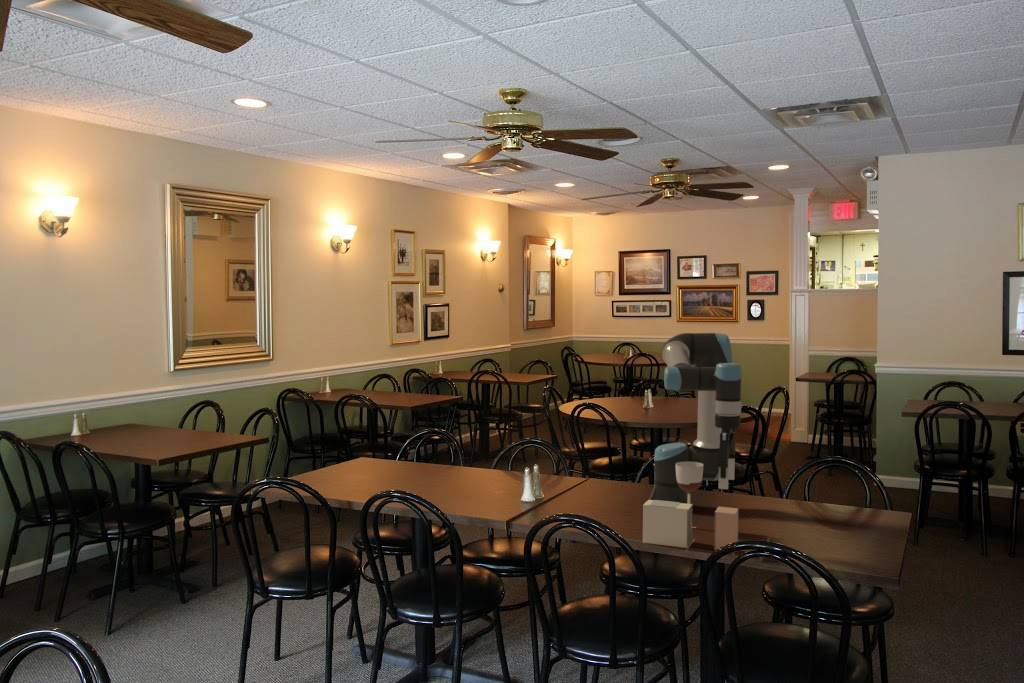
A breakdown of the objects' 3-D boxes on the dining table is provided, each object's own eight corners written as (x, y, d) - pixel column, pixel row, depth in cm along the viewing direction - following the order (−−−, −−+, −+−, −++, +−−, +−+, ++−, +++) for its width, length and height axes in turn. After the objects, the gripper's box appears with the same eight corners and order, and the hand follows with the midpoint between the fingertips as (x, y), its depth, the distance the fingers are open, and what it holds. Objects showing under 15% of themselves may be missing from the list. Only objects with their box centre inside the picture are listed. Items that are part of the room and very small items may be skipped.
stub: (717, 544, 249) (718, 506, 248) (737, 547, 246) (738, 508, 246) (714, 551, 242) (714, 511, 242) (734, 553, 240) (735, 514, 239)
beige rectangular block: (647, 536, 257) (648, 499, 257) (691, 541, 252) (692, 503, 251) (642, 542, 251) (643, 504, 250) (687, 548, 245) (688, 509, 245)
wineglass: (669, 529, 267) (670, 464, 266) (685, 524, 274) (686, 460, 273) (691, 535, 261) (692, 468, 260) (707, 529, 268) (708, 464, 267)
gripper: (721, 408, 255) (720, 474, 256) (708, 419, 232) (707, 491, 233) (745, 409, 252) (744, 476, 253) (735, 420, 229) (733, 494, 231)
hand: (726, 484), depth 243 cm, fingers open, 13 cm apart
